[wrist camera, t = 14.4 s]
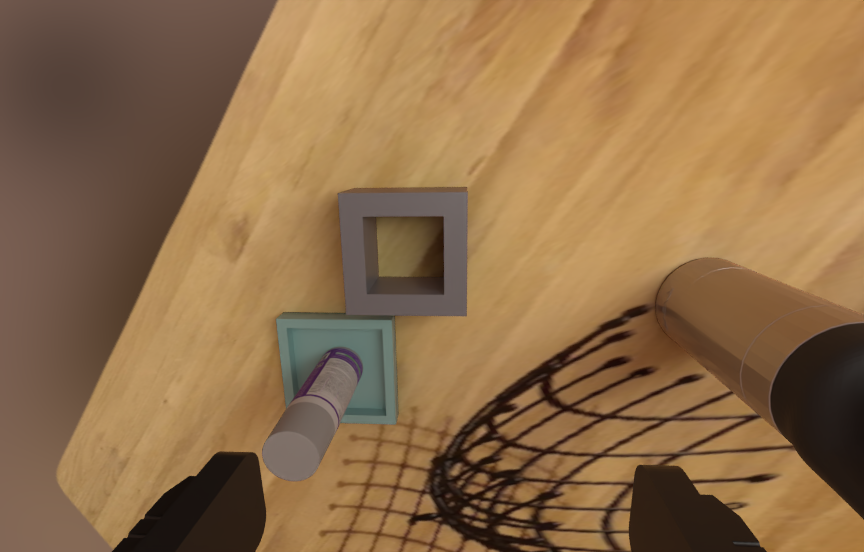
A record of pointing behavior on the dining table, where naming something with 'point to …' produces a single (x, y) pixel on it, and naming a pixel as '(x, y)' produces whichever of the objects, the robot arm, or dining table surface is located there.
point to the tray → (363, 334)
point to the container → (313, 416)
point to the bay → (402, 293)
